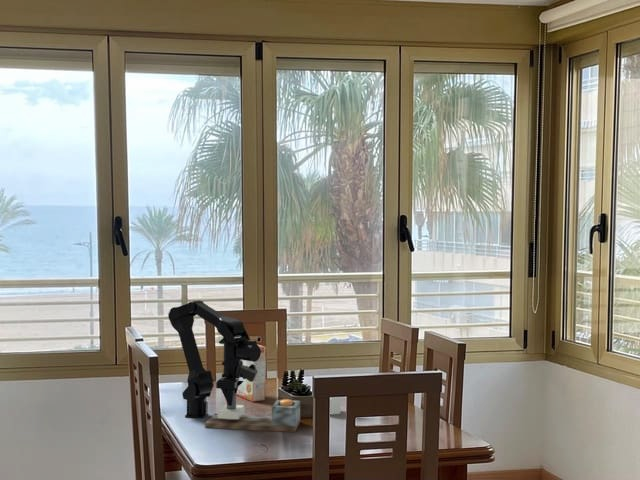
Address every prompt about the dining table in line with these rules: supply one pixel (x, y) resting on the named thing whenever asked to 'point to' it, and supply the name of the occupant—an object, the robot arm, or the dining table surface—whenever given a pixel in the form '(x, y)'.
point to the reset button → (286, 402)
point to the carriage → (231, 410)
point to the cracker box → (257, 387)
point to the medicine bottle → (335, 406)
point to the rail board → (263, 420)
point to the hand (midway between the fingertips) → (231, 404)
